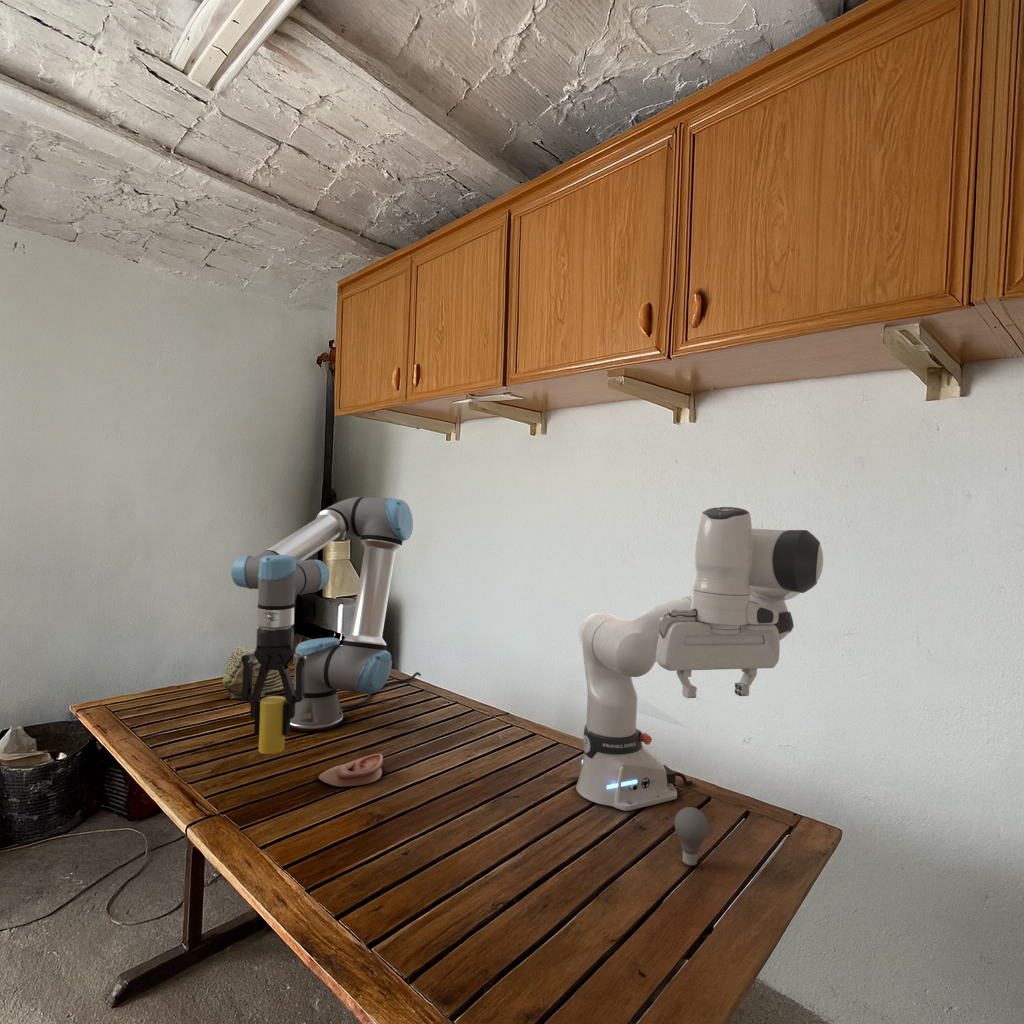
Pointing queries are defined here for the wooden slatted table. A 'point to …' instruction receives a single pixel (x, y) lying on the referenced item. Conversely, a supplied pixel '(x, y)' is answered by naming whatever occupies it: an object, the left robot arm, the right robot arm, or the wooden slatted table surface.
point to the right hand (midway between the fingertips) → (715, 696)
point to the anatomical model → (354, 772)
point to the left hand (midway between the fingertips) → (272, 732)
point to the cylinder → (271, 725)
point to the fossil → (235, 676)
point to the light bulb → (691, 832)
